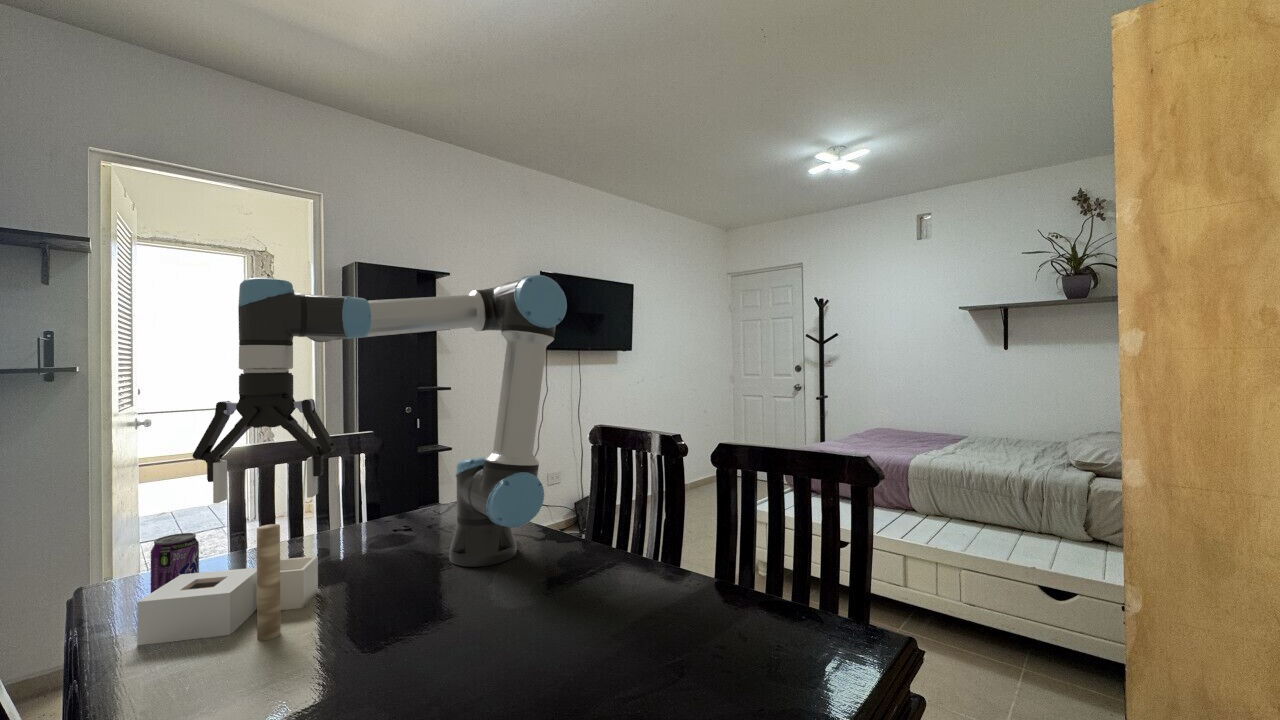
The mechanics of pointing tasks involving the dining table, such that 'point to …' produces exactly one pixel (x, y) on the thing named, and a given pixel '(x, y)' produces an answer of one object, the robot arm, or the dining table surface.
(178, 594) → the box
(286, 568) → the pen cup
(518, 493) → the robot arm
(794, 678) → the dining table surface
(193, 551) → the beverage can
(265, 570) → the wooden cylinder rod
